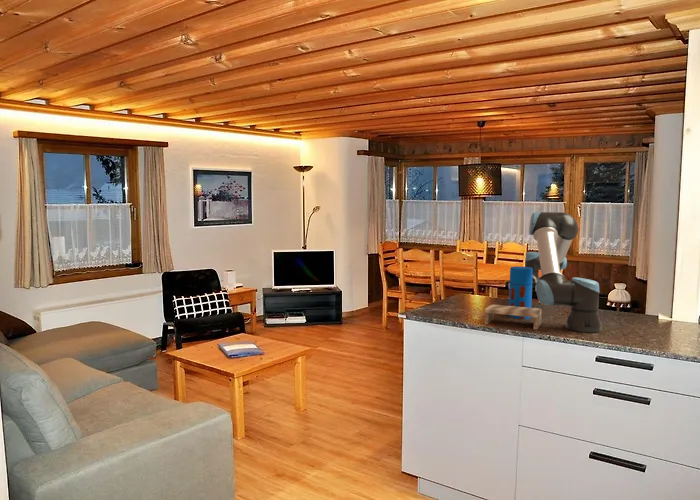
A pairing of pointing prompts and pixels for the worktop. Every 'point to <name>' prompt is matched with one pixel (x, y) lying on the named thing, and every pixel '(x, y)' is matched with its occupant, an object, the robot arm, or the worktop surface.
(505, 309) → the stool
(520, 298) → the thermos
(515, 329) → the worktop surface
